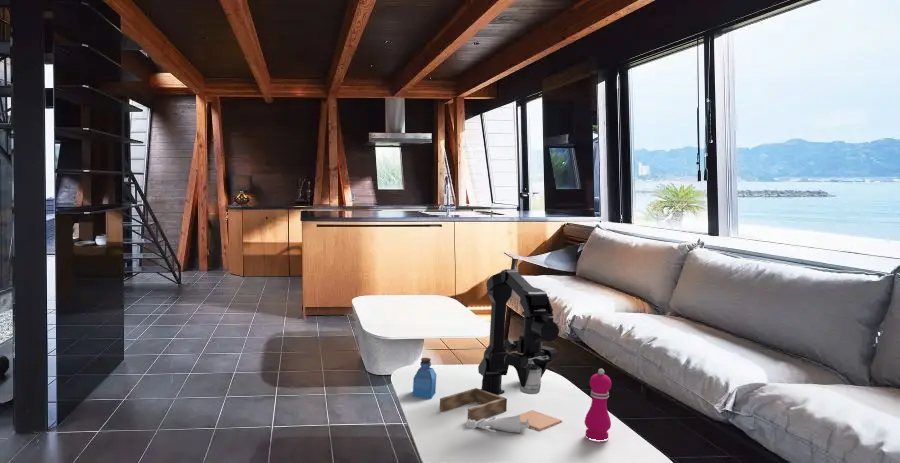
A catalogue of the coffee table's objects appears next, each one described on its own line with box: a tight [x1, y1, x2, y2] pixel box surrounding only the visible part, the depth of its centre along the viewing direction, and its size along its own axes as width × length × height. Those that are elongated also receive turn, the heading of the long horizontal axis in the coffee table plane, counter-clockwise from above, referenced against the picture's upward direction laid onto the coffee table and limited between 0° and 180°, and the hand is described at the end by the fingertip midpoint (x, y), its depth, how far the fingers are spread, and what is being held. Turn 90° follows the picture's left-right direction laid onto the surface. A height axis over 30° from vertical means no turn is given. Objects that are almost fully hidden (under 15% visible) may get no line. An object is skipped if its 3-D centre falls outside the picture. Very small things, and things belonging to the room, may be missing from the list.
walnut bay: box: [439, 387, 508, 422], centre depth 200 cm, size 17×13×4 cm
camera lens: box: [518, 364, 542, 395], centre depth 193 cm, size 6×6×8 cm
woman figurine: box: [466, 414, 530, 434], centre depth 187 cm, size 12×4×18 cm
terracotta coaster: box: [516, 409, 563, 432], centre depth 195 cm, size 11×11×1 cm
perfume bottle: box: [412, 357, 437, 400], centre depth 213 cm, size 6×6×12 cm
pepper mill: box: [584, 368, 612, 440], centre depth 183 cm, size 7×7×20 cm
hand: (529, 384), depth 194 cm, fingers closed on camera lens, 6 cm apart
